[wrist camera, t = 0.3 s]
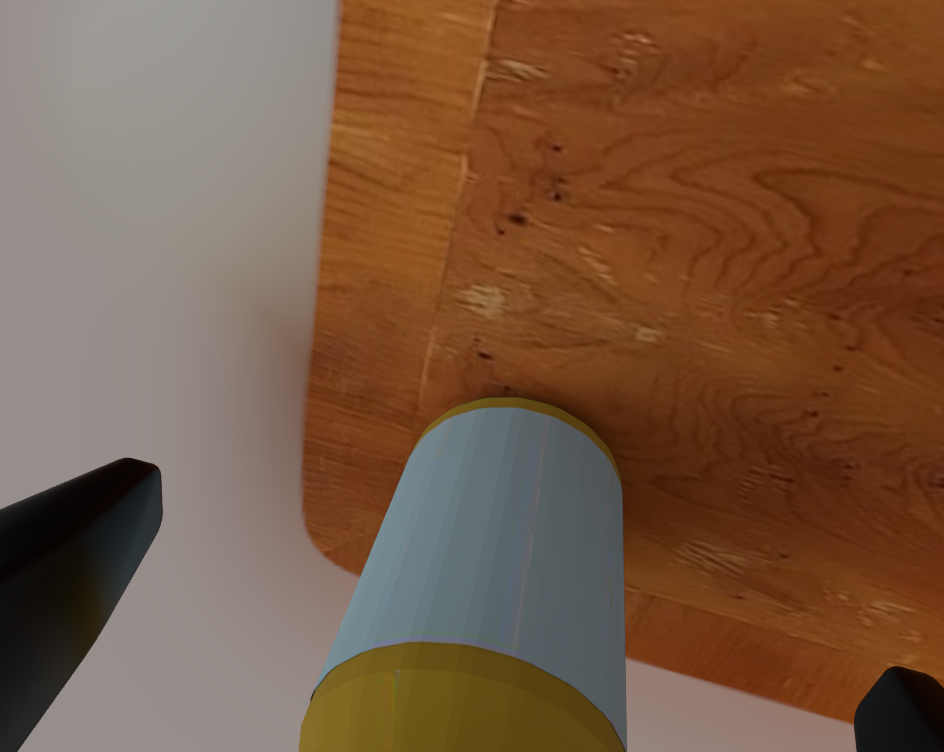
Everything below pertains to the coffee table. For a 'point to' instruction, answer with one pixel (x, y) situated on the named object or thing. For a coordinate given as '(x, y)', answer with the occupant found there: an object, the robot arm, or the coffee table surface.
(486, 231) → the coffee table surface
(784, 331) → the coffee table surface
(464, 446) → the bottle
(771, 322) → the coffee table surface
